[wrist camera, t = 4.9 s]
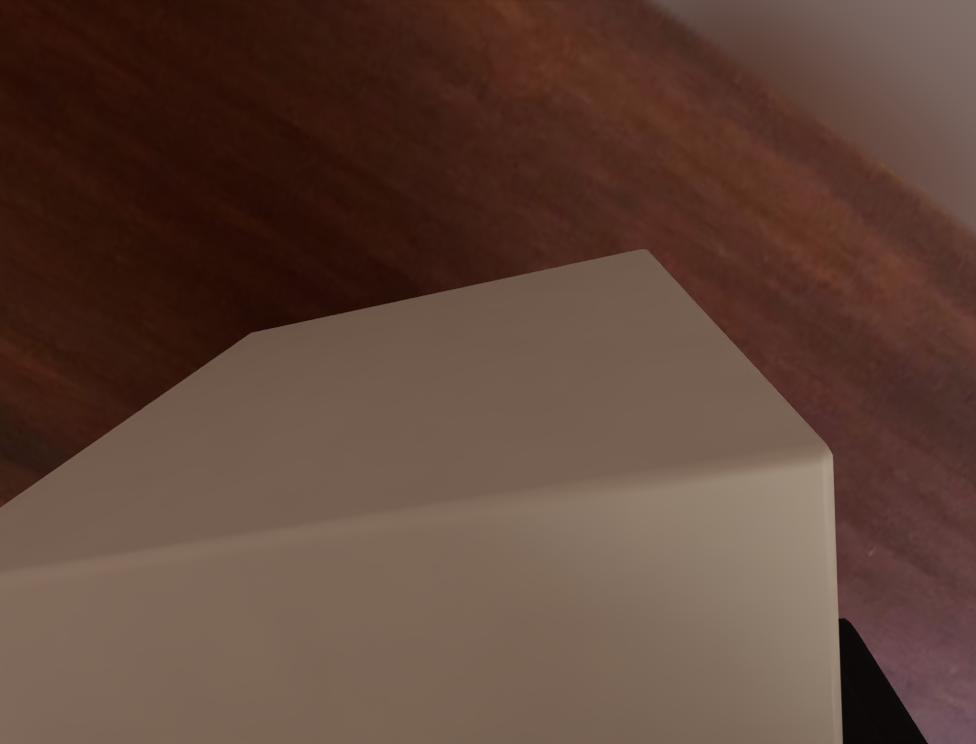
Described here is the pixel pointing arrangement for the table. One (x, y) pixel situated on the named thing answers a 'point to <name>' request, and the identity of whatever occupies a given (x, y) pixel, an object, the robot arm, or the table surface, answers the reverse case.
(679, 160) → the table surface
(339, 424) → the toy oven
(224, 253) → the table surface
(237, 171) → the table surface
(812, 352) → the table surface
